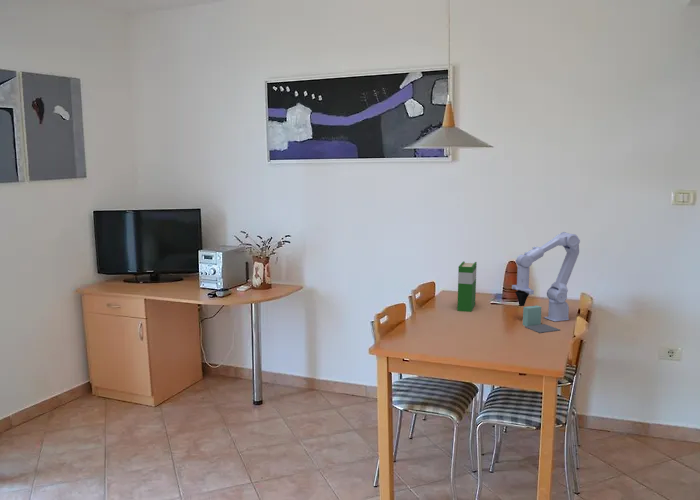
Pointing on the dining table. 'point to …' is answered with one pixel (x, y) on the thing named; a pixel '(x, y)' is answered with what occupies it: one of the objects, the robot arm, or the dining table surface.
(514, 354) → the dining table surface
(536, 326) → the mat
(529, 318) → the slab
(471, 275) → the hardback book
